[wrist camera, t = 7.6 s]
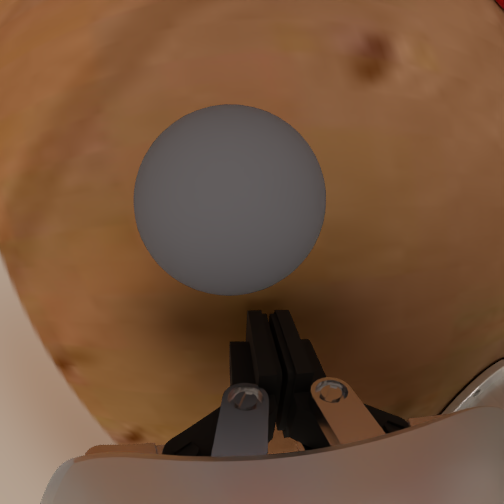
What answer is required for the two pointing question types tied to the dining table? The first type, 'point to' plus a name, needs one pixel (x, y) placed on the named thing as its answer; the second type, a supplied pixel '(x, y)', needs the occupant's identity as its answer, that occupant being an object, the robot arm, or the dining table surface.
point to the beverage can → (500, 3)
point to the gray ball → (229, 199)
